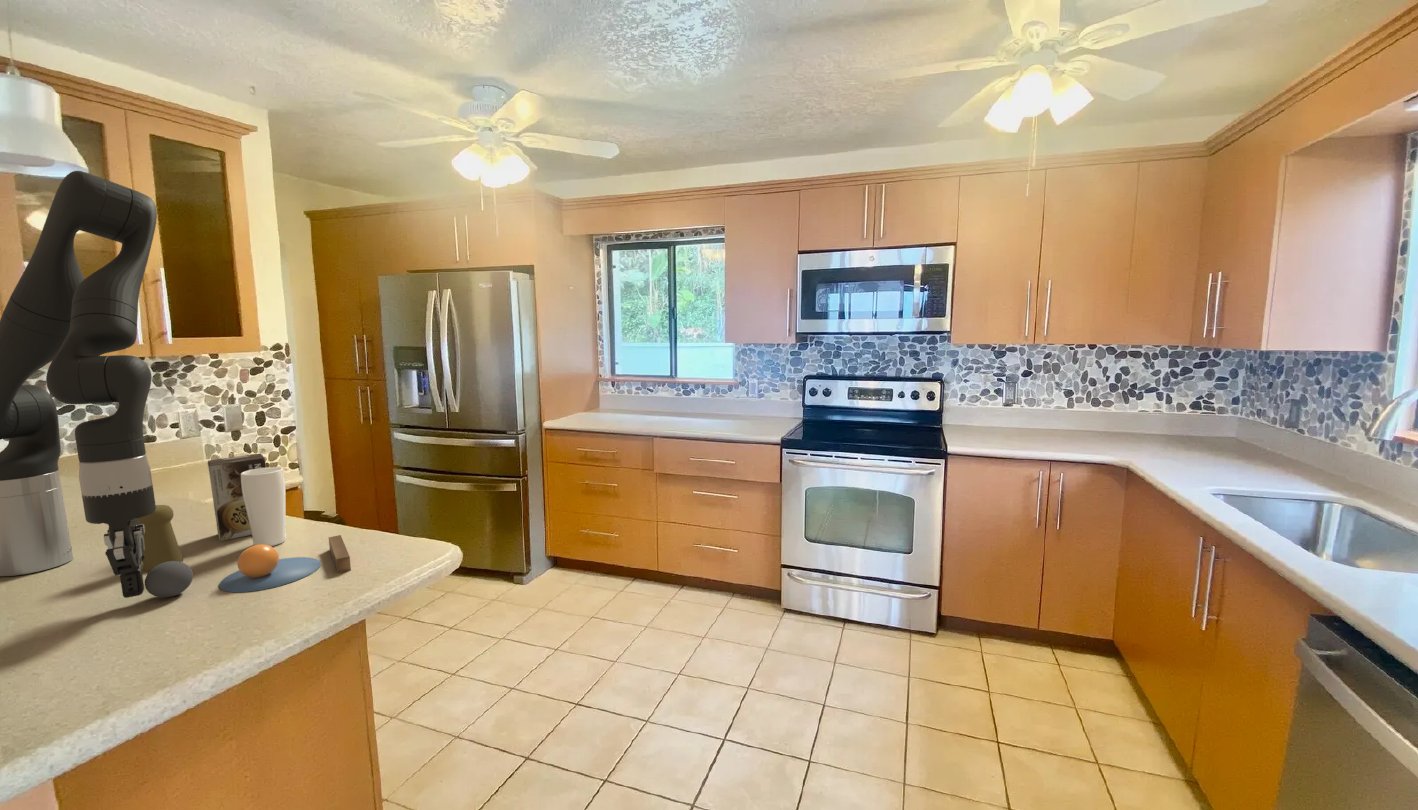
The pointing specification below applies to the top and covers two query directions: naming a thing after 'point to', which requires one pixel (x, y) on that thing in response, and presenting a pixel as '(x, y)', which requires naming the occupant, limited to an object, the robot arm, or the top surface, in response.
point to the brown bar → (339, 554)
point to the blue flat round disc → (272, 575)
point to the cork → (159, 538)
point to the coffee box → (231, 493)
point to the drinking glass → (265, 504)
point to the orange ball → (258, 561)
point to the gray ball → (168, 579)
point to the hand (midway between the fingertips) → (134, 594)
